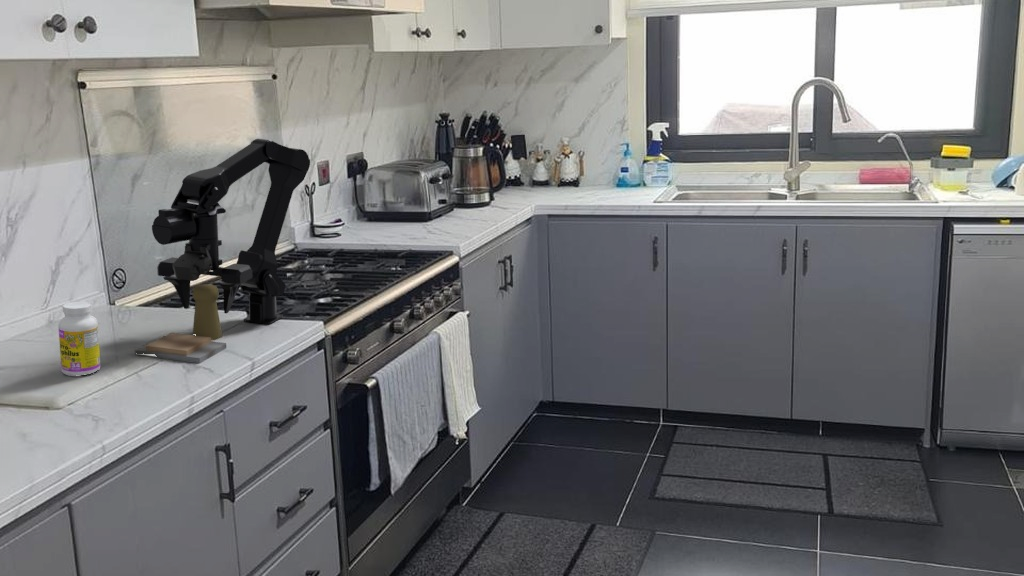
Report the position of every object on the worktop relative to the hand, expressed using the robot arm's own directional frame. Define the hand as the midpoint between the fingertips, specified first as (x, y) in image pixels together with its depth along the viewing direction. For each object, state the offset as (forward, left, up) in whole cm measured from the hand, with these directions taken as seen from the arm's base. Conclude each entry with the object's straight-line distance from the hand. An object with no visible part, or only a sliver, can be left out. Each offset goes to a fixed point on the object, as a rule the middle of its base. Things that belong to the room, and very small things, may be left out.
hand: (206, 310), depth 204 cm
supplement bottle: (+27, -10, -6) cm, 29 cm away
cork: (0, 0, -6) cm, 6 cm away
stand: (+11, 0, -6) cm, 12 cm away
